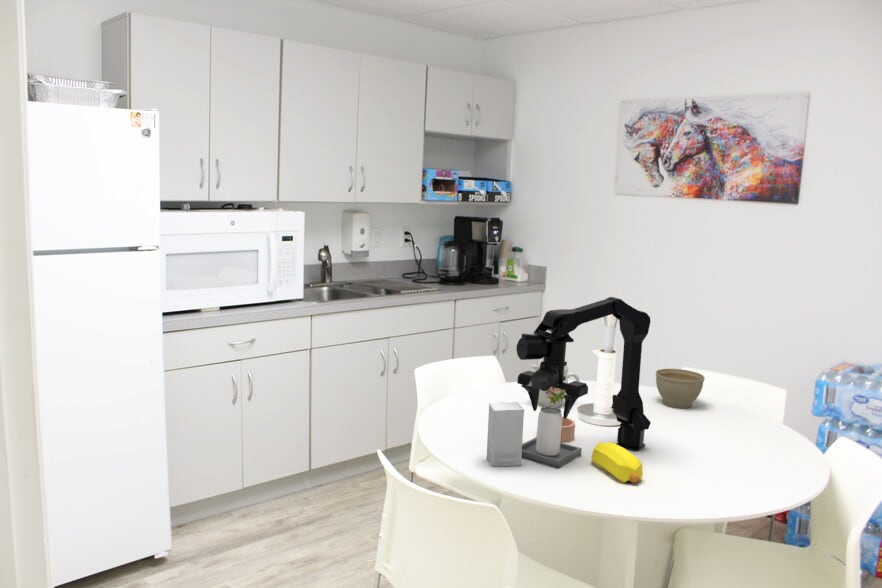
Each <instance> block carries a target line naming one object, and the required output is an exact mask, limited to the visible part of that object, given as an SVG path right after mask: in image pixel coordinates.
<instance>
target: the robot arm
mask: <svg viewBox="0 0 882 588" xmlns="http://www.w3.org/2000/svg"><path fill="white" fill-rule="evenodd" d="M608 316H613V317H615V318H616V319H617V320H618V321H619V330H620V333H621V335H622V338H623V353H622V355H623V356H622V364H621V366H622V367H621V382H620V389H619V392H618V393H617V394H613V395H612V403H611V407H610V409H612V413H613V414H614V415H615V417H616V418H615V419H616V421H617V422H619V423H620V424H619V427H618V428H617V435H616V436H617V437H616V441H617V442H616V443H615V444H617V445H619V446H621V447H623V448H624V449H626V450H627V449H628V450H632V451H636V452H637V451H639V450H641V449H642V448H645V447H646V443H644V441H645V440H644V439H645V431H646V430H649V428H650V426H651V424H652V423H651V421H650V420H649V418H648V417H647V416H646V415H645V413H644V411H645V410H644V402H643V399H642V397H641V394H640V391H639V389H640V377H641V362H642V349H643V342H644V340H645V339H646V337H647V335H648V334H649V330H650V326H651V316H649V314H648V313H647V312H645V311H641V310H639V309H637V308H635V307H633V306H631V305H630V304H628V303H626V302H625V301H624V300H623V299H622V298H618V297H614V296H609V297H606V298H605V299H602V300H598V301H595V302H592V303H590V304H584V305H581V306H579V307H575V308H573V309H571V308H569V309H566V308H565V309H552V310H548V311H546V312H545V315H544V316H543V318H542V321H540V323H539V324H538V326H537V327H536V329H535V330H534V331H533V333H521V338H519V339H518V341H517V344H516V346H515V347H516V349H515V350H516V354H517V357H518V358H519V360H521V361H525V360H528V361H529V360H541V359H542V361H541V362H540V363H541V364H540V368H539V370H537V371H531V370H526V371H523V372H520V373H519V374H518V376H517V380H516V381H517V384H518V385H520V386H521V388H524V390H525V391H527V394H528V397H529V399H530V404H531V407H532V411H534V412H536V411H537V410H538V406H539V401H538V399H539V391H540V390H542V391H547V390H549V388H550V387H554V388H559V389H563V390H565V392H566V394H567V395H564V398H565V399H564V408H563V417H564V419H566V418H568V416H569V415H570V412H571V411H572V409H573V406H574V404H575V403H576V401H577V400H578V399H579V398H581V397H583V396H585V395H588V394H589V386H588V384H587V382H581V381H580V382H578V381H576V380H574V381H571V382H568V383H564V382H563V381H565V379H566V377H565V376H564V366H567V363H568V362H567V361H566V353H567V352H566V351H567V350H566V349H567V343H574V341H575V340H574V339H573V337H571V336H570V333H571V332H573V331H575V330H576V329H577V328H578V327H579V326H580V325H582V324H585V323H589V322H593V321H596V320H599V319H601V318H605V317H608ZM567 367H568V366H567Z"/></svg>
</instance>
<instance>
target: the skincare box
mask: <svg viewBox="0 0 882 588" xmlns="http://www.w3.org/2000/svg"><path fill="white" fill-rule="evenodd" d="M524 417H525V409H524V408H523V406H521V404H520V403H518V402H517V401H516V402H515V401H513V402H510V401H509V402H488V421H487V438H486V439H487V442H486V459H487V461H488V463H489V462H490V463H489V464H490V465H492V466H494V467H515V466H517V467H519V466H522V459H523V458H522V444H523V437H524V436H523V435H524V434H523V433H524V419H525V418H524ZM492 466H491V467H492Z"/></svg>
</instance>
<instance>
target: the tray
mask: <svg viewBox="0 0 882 588" xmlns="http://www.w3.org/2000/svg"><path fill="white" fill-rule="evenodd" d="M536 439H537V436H536V437H534V438H532V439H530V440H528V441H527V440H526V442H524V443H523V442H522V458H521V459H524V460H528V461H530V462H533V463H537V464H540V465H544V466H548V467H550V468H553V469H560V468H561V467H563V466H565V465H566V464H567V465H568V463H570V462H572V461H574V460H575V459H577V458H579V457H580V456H582V447H578V446H574V445H572V444H568V443H565V442H560V452H559V454H558V455H556V456H544V455H540V454H538V453H537V451H536Z"/></svg>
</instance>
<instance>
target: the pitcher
mask: <svg viewBox="0 0 882 588" xmlns="http://www.w3.org/2000/svg"><path fill="white" fill-rule="evenodd" d="M540 364H541V362H540V363H534V364H533V363H531V364H530V367H531V368H533V369H534V372H536V371H537V370H539V368H540ZM568 371H569V367H568V366H564V376H565V377H566V379H565V381H563V382H564V383H569V381H568V380H569V378H571V377H574V379H575V381H578V382H581V381H580V377H579V375H578V373H576V372H569V373H568ZM564 395H567V394H566V392H565V390H563V389H559V388H554V387H550V388H549V390H547V391H542V390H540V391H539V399H538V404H540V406H542V407H554V408H559V407H560V406H561V405H562V404H563V403H564V402H565V398H564Z"/></svg>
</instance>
